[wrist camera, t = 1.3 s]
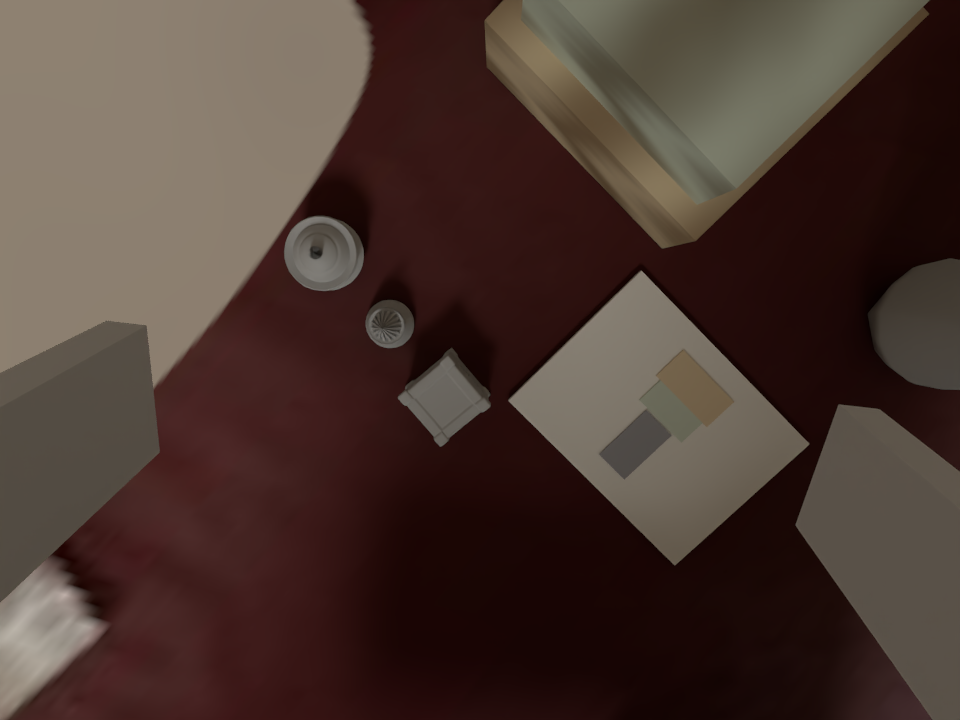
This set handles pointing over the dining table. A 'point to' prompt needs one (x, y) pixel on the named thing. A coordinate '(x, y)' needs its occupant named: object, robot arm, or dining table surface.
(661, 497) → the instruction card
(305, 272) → the toy set
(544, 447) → the dining table surface
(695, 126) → the zigzag patterned box
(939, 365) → the salt shaker
